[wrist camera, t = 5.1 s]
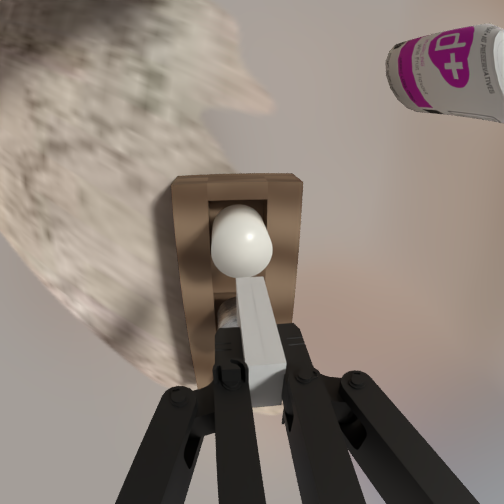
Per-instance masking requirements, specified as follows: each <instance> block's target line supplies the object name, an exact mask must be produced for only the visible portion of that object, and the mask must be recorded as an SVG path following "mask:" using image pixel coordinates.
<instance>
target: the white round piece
mask: <svg viewBox="0 0 504 504" xmlns="http://www.w3.org/2000/svg"><path fill="white" fill-rule="evenodd" d="M272 251H273V249H272V242H271V240H270V237H269V235H268V232H267V230H266V227H265V225H264V222H263V220H262V218H261V216H260V214H259V213H258V212H257V211H256V210H255V209H253V208H251V207H249V206H247V205H242V204H236V205H231V206H228V207H226V208H224V209H223V210H221V211H220V212H219V213H218V215H217V216H216V218H215V220H214V222H213V227H212V244H211V256H212V260H213V262H214V264H215V266H216V267H217V268H218V269H219V270H220V271H221V272H222V273H224V274H225V275H227V276H230V277H233V278H242V277H252V276H255V275H257V274H258V273H260V272H261V271H263V270H264V269H265V268H266V266H267V265H268V264H269V262H270V260H271V257H272Z"/></svg>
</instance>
